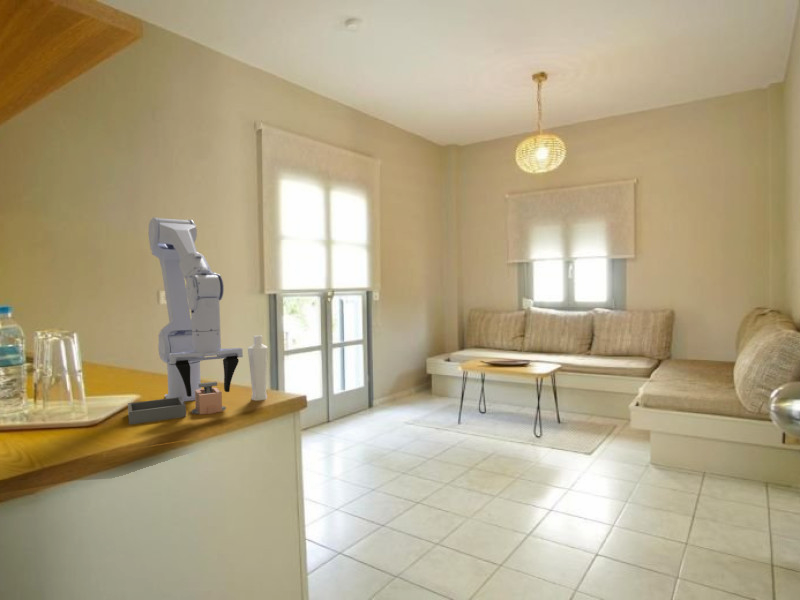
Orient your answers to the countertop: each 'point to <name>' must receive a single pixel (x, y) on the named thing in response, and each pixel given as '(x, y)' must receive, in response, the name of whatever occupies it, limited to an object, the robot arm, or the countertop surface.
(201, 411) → the pink block
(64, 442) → the countertop surface
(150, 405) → the tray
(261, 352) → the perfume bottle
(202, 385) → the dark grey stand
